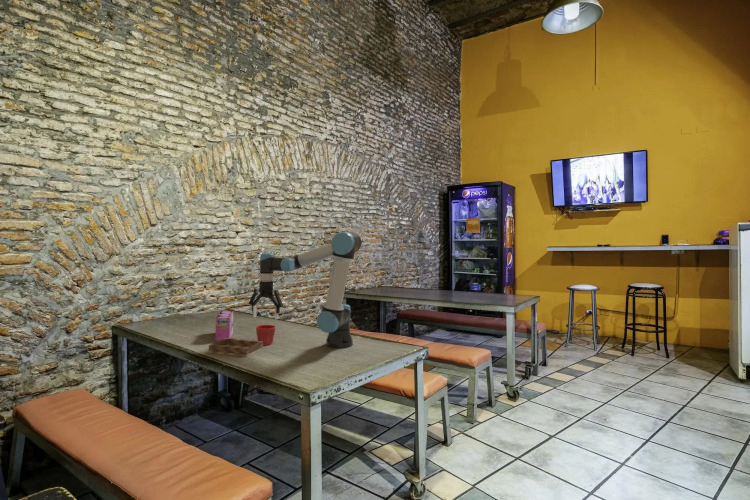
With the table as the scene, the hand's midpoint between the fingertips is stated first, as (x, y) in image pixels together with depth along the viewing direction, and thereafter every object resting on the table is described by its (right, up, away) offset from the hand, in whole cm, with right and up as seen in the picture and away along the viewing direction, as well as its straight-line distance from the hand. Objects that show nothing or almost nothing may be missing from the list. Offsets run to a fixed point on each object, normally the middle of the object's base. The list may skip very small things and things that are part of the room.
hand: (265, 318), depth 236 cm
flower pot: (0, -15, 0) cm, 15 cm away
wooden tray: (-11, -15, -15) cm, 24 cm away
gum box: (-28, -14, +15) cm, 35 cm away
